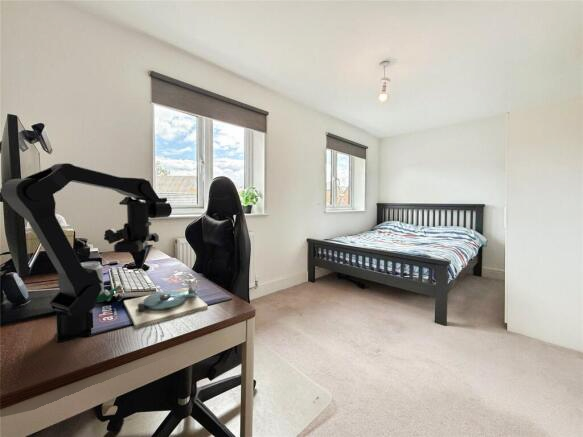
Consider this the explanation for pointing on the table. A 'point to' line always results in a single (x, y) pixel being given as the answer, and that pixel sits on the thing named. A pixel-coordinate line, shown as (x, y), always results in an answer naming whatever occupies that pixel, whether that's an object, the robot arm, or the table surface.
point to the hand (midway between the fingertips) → (139, 268)
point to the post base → (148, 317)
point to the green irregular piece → (108, 294)
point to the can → (98, 268)
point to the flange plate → (169, 298)
